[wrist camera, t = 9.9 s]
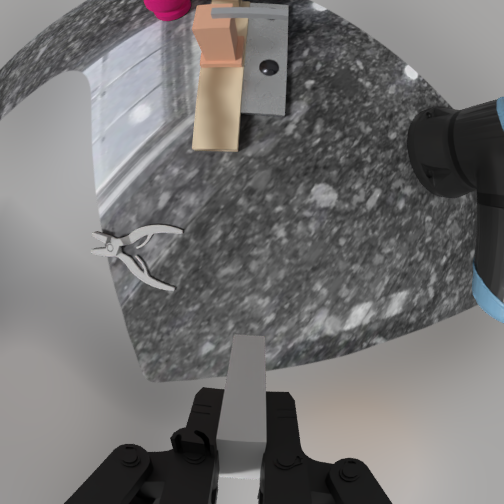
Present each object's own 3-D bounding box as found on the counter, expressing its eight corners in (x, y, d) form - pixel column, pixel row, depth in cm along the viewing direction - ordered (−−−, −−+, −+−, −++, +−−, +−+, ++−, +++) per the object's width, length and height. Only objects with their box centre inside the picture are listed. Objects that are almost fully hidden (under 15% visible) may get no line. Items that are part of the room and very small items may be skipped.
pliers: (172, 294, 39) (90, 271, 39) (175, 290, 41) (95, 269, 40) (181, 229, 37) (93, 212, 37) (183, 228, 39) (98, 211, 38)
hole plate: (287, 8, 29) (288, 4, 28) (284, 117, 34) (284, 115, 33) (250, 6, 29) (250, 2, 28) (240, 114, 34) (240, 112, 33)
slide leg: (281, 42, 29) (288, -2, 19) (280, 69, 30) (288, 29, 20) (205, 40, 29) (189, -2, 19) (201, 67, 31) (182, 29, 20)
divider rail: (281, 9, 30) (288, -40, 17) (274, 153, 35) (283, 136, 23) (213, 8, 30) (199, -40, 17) (195, 150, 36) (165, 133, 23)
